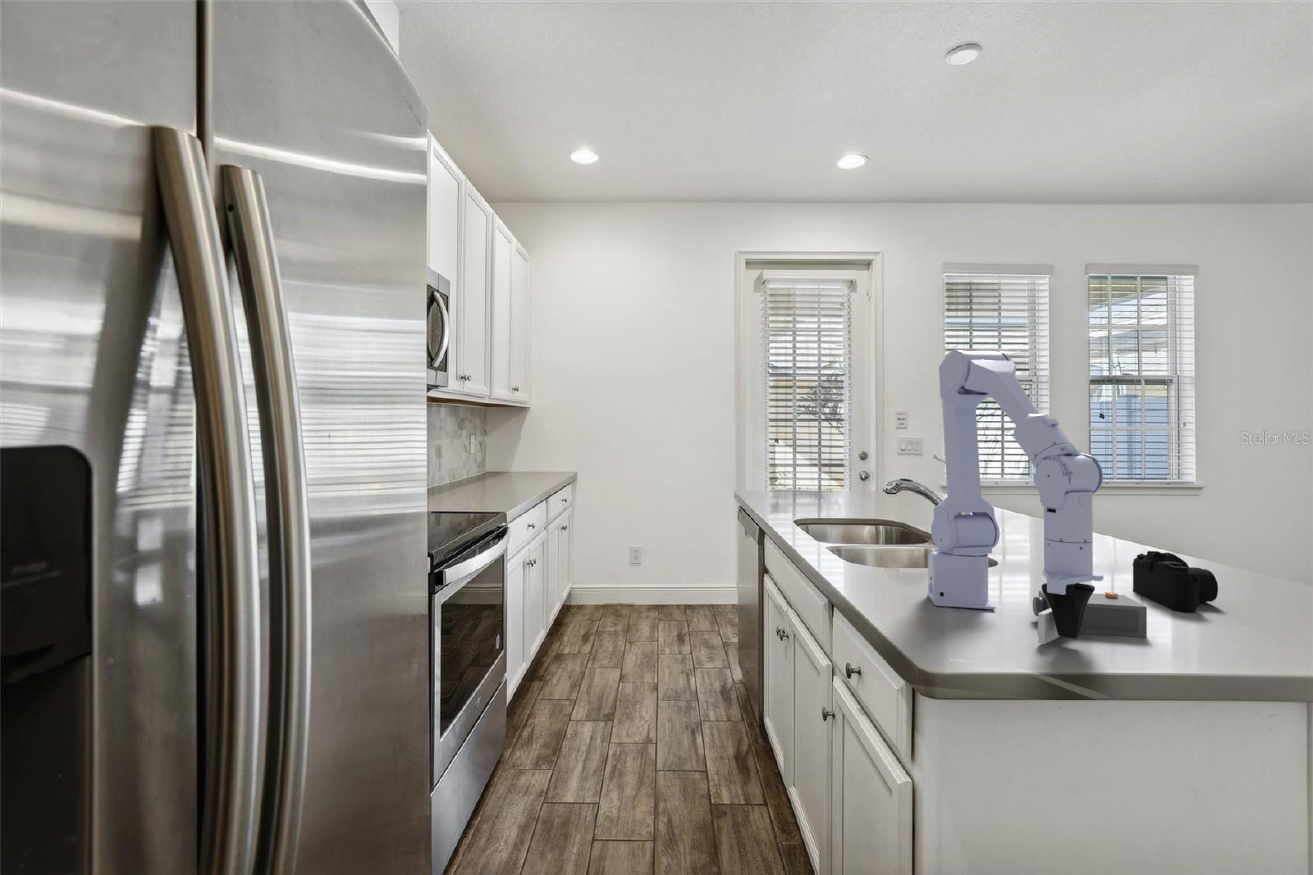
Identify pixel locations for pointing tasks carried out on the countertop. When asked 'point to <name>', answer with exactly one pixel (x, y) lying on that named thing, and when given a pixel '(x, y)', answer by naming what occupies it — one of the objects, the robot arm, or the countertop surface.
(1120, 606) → the grey box
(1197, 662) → the countertop surface
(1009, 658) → the countertop surface
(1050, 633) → the side door
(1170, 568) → the film camera
